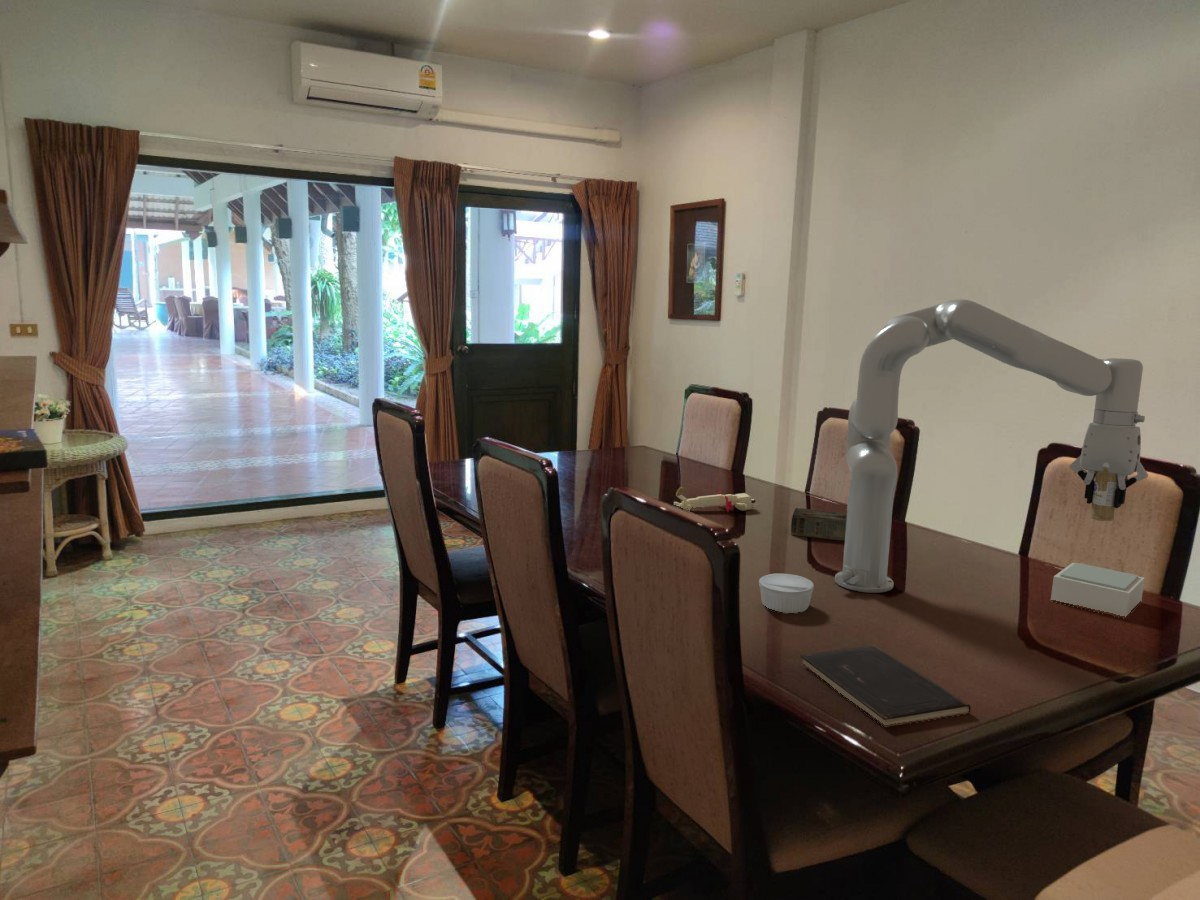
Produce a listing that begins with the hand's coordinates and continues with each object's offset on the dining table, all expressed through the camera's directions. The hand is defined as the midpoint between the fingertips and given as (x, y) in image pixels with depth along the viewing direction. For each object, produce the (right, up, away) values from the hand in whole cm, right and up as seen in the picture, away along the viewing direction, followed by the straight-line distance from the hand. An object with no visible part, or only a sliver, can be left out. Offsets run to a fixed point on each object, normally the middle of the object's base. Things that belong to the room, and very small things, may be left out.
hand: (1103, 503), depth 174 cm
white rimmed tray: (+1, -21, +4) cm, 22 cm away
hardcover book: (-60, -28, -38) cm, 77 cm away
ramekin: (-68, -21, -2) cm, 71 cm away
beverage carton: (-44, -12, +51) cm, 69 cm away
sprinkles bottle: (0, -3, +1) cm, 4 cm away
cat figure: (-71, -7, +76) cm, 104 cm away
